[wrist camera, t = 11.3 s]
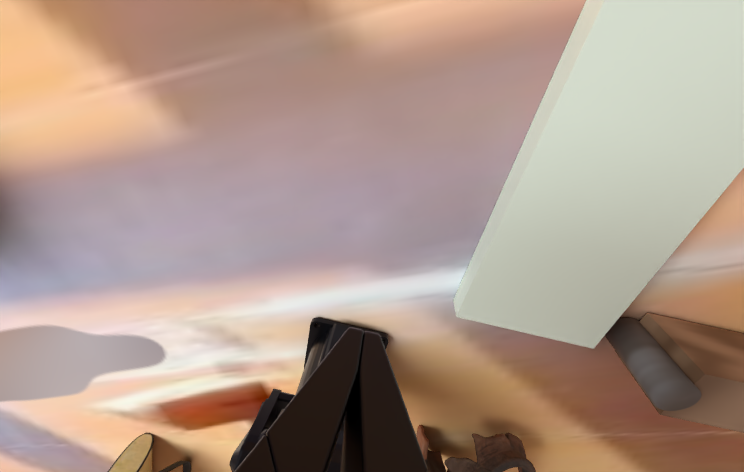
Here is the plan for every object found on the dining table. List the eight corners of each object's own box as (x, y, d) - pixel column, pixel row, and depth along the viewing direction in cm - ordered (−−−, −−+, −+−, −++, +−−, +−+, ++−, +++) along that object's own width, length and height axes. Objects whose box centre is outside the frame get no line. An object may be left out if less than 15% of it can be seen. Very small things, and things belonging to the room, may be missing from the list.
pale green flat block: (581, 329, 24) (593, 348, 22) (453, 299, 24) (456, 316, 22) (823, 13, 14) (875, 8, 12) (604, -40, 14) (629, -53, 12)
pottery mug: (408, 402, 31) (458, 478, 24) (486, 376, 34) (552, 436, 27) (410, 495, 34) (455, 589, 27) (482, 463, 37) (540, 540, 30)
